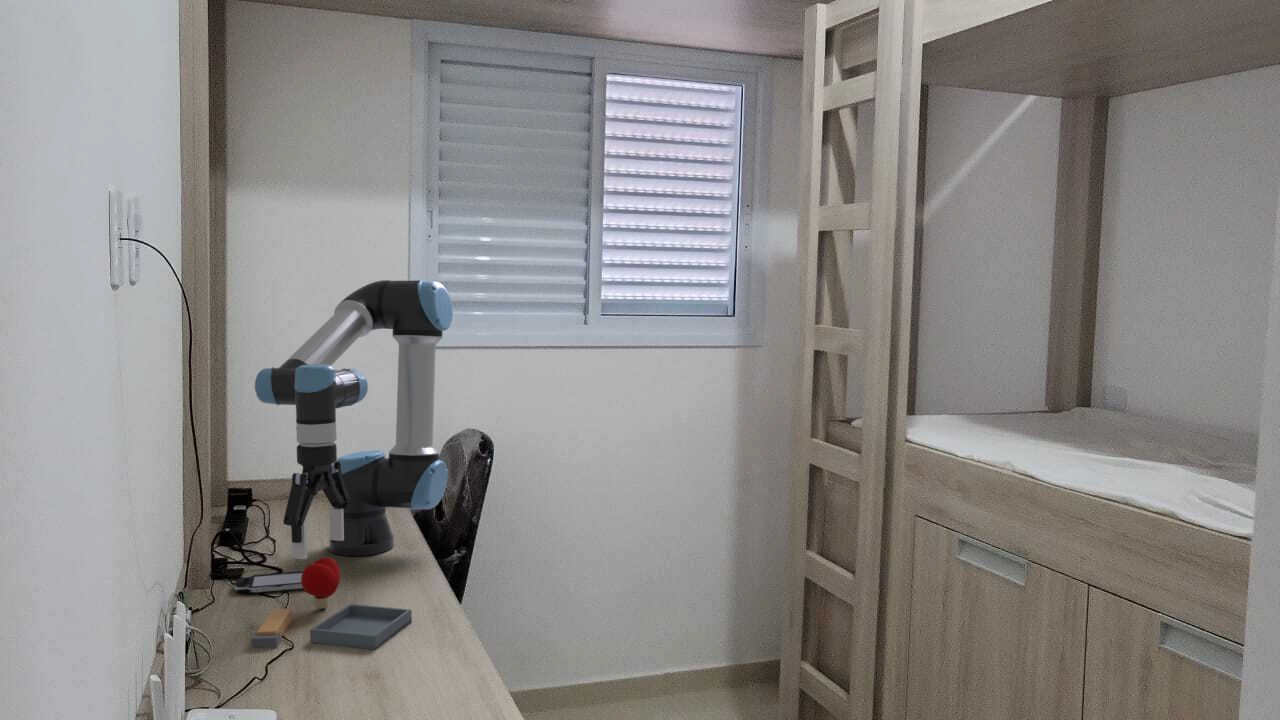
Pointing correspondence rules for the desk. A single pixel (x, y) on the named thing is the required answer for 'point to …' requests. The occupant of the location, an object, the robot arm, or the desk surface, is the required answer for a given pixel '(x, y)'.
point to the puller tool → (272, 629)
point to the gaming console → (269, 583)
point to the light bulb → (321, 580)
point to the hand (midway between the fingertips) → (319, 549)
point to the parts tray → (361, 626)
